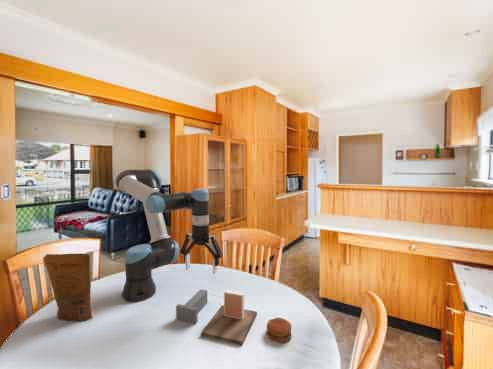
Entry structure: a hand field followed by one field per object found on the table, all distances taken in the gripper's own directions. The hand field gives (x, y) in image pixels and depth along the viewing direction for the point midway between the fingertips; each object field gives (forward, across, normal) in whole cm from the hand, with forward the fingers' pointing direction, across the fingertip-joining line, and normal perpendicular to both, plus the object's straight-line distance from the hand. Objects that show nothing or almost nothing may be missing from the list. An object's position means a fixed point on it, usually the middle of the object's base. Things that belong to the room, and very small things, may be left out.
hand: (201, 270), depth 112 cm
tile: (+15, +18, -6) cm, 24 cm away
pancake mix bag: (+16, -46, -25) cm, 55 cm away
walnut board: (+16, +18, -9) cm, 26 cm away
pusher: (+16, 0, -4) cm, 17 cm away
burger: (+17, +37, -9) cm, 41 cm away
